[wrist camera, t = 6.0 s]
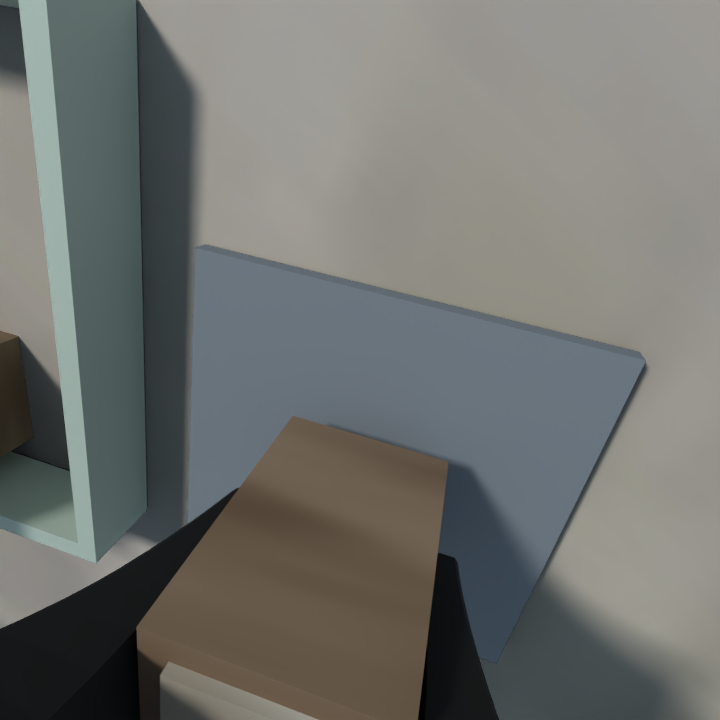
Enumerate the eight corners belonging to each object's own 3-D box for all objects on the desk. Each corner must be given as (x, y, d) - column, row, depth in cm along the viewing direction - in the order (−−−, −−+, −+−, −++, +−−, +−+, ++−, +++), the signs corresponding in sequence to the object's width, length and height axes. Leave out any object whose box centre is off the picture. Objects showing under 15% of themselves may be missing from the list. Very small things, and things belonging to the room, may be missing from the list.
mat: (495, 648, 16) (496, 663, 15) (193, 544, 17) (186, 554, 17) (639, 352, 11) (645, 360, 10) (205, 244, 12) (195, 248, 12)
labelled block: (411, 576, 13) (356, 893, 7) (276, 531, 14) (130, 794, 8) (448, 461, 11) (412, 760, 6) (292, 415, 12) (121, 647, 6)
